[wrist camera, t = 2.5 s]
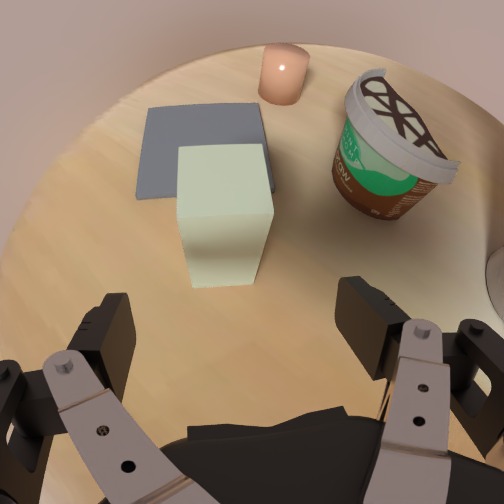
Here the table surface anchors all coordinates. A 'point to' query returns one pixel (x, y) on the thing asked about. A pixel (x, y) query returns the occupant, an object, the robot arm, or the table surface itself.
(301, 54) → the peach pillar candle
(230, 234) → the sage block
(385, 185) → the food container
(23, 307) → the table surface
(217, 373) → the table surface
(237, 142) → the plate
